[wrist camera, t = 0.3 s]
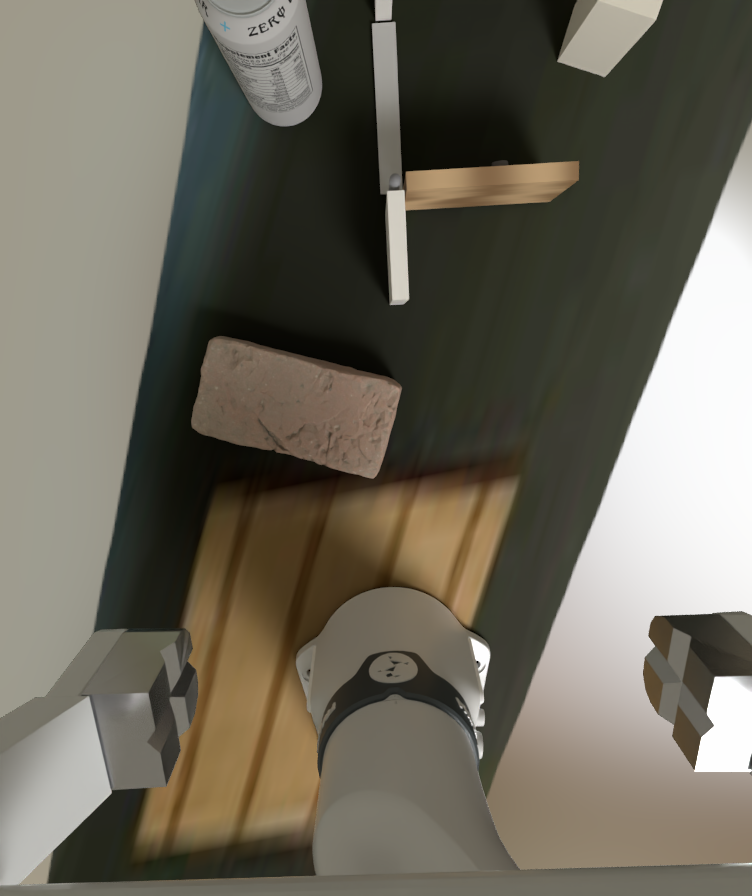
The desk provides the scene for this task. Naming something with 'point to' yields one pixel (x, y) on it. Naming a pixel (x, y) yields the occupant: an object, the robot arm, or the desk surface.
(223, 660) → the desk surface
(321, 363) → the brick
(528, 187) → the door
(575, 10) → the block
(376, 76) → the doorframe
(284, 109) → the energy drink can
